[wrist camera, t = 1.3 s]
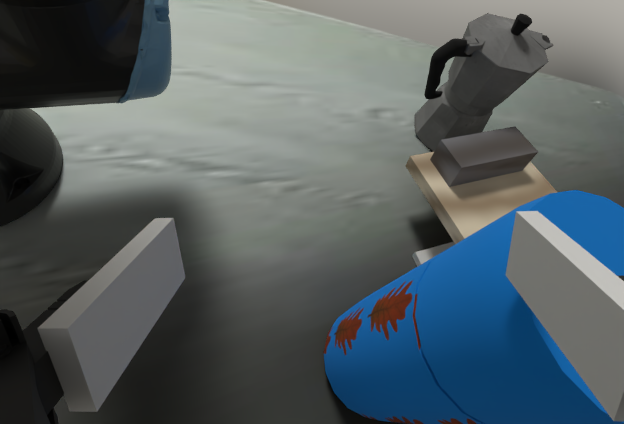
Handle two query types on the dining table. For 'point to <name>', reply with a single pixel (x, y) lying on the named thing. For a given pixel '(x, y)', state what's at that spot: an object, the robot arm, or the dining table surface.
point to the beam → (478, 179)
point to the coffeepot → (478, 76)
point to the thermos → (471, 333)
